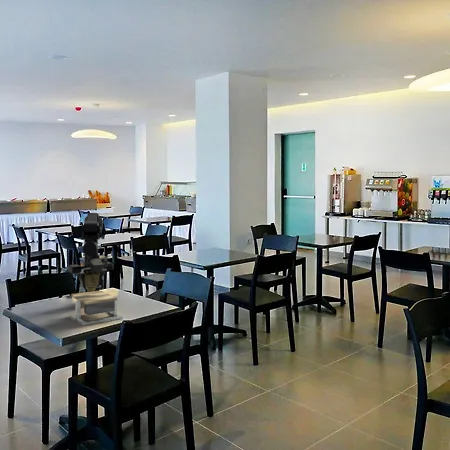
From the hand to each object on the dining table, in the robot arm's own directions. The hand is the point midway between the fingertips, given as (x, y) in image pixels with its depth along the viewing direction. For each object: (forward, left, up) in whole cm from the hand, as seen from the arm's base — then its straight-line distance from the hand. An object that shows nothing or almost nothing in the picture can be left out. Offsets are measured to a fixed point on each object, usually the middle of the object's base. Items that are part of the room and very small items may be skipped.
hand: (91, 286), depth 221 cm
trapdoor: (+3, 0, -9) cm, 10 cm away
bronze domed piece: (0, 0, -2) cm, 2 cm away
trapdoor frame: (+6, 0, -12) cm, 14 cm away
